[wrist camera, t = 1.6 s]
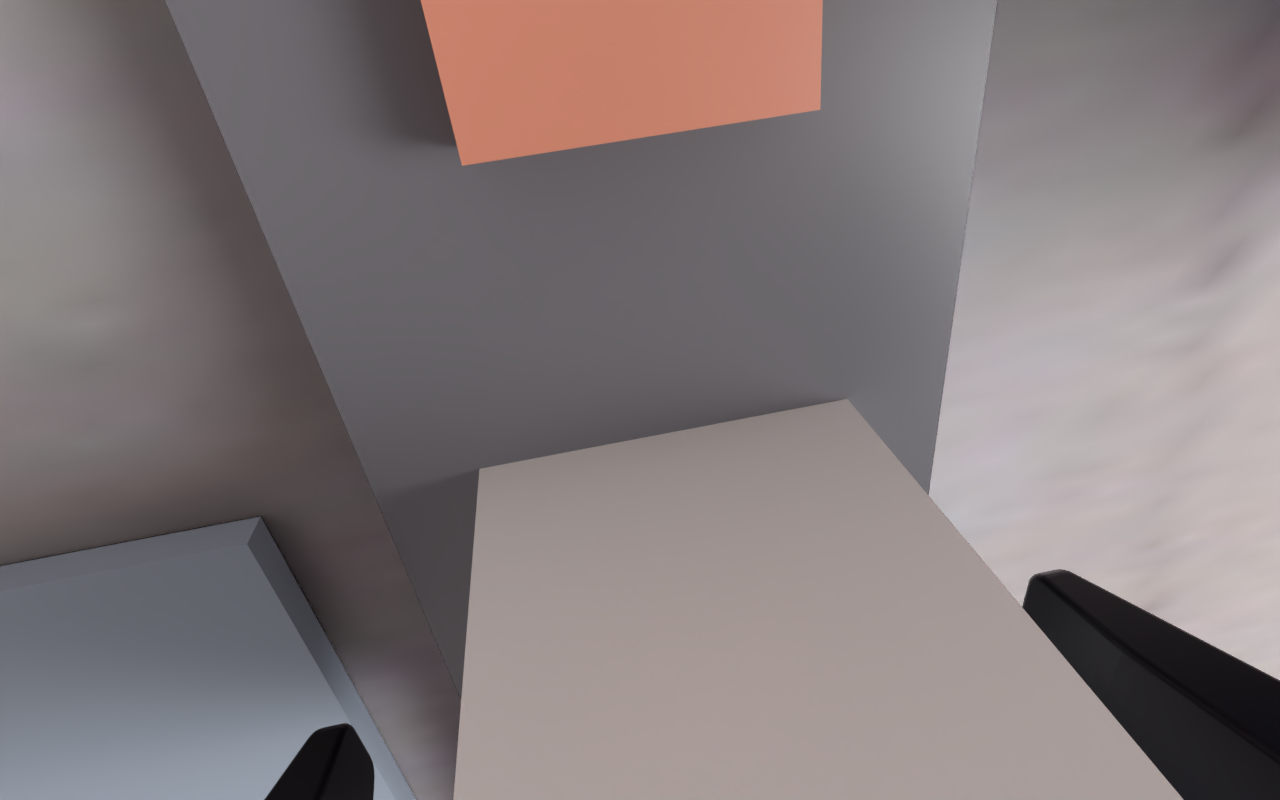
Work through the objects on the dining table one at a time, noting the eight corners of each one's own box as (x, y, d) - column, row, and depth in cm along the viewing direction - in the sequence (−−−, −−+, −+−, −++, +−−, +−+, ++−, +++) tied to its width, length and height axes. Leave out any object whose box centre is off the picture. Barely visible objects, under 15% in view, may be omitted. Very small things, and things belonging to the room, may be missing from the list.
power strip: (833, 865, 19) (879, 989, 16) (588, 924, 18) (598, 1062, 16) (916, -360, 6) (1161, -583, 4) (149, -280, 6) (-110, -482, 3)
